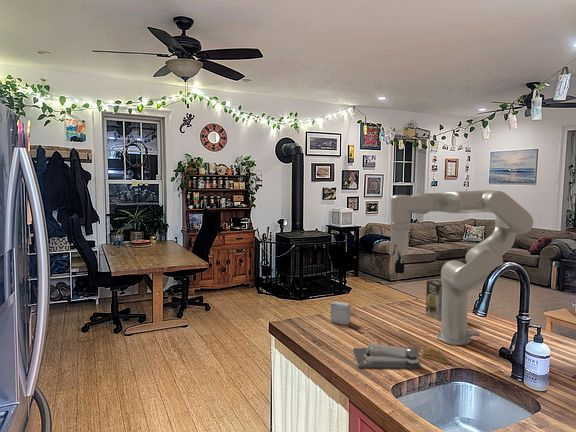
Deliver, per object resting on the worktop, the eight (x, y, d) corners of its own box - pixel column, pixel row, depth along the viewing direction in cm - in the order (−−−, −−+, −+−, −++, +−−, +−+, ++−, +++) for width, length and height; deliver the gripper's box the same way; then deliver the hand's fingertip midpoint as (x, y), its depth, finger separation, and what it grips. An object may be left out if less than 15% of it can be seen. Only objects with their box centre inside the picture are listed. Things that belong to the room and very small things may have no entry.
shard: (450, 366, 139) (450, 361, 139) (428, 366, 139) (428, 361, 139) (438, 352, 150) (438, 348, 150) (417, 353, 150) (417, 348, 150)
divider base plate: (409, 351, 151) (409, 344, 151) (421, 368, 137) (421, 360, 137) (353, 350, 151) (353, 343, 151) (358, 368, 137) (358, 360, 137)
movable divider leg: (418, 359, 141) (419, 347, 140) (417, 364, 136) (418, 352, 136) (367, 351, 147) (367, 340, 147) (365, 356, 143) (365, 345, 143)
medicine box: (350, 322, 182) (350, 303, 181) (346, 325, 178) (346, 306, 177) (334, 319, 186) (334, 300, 185) (330, 322, 182) (330, 303, 181)
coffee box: (425, 313, 193) (426, 280, 192) (436, 312, 195) (437, 279, 193) (437, 319, 184) (438, 285, 183) (449, 318, 186) (450, 284, 185)
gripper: (396, 224, 167) (395, 268, 168) (384, 228, 154) (384, 275, 155) (414, 225, 163) (413, 270, 164) (404, 229, 150) (403, 277, 152)
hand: (399, 272), depth 160 cm, fingers closed
